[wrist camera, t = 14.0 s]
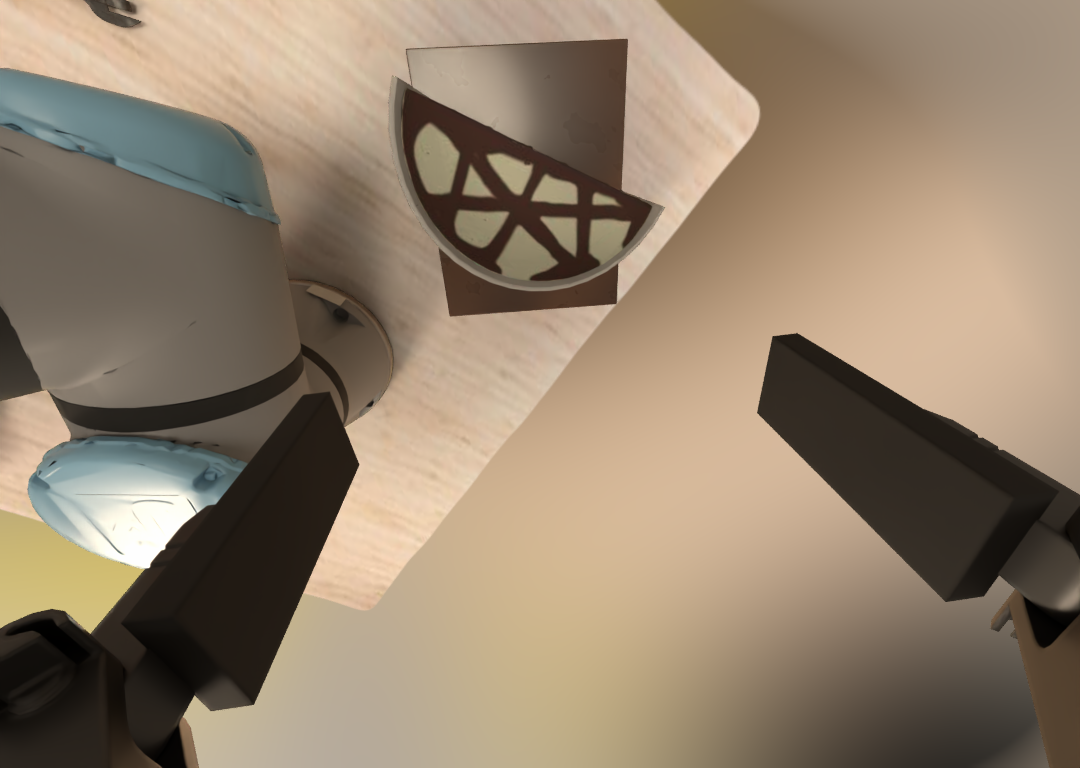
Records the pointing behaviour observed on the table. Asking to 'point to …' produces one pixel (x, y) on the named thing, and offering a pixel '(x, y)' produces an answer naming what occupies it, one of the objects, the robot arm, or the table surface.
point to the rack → (534, 135)
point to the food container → (507, 200)
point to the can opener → (99, 6)
